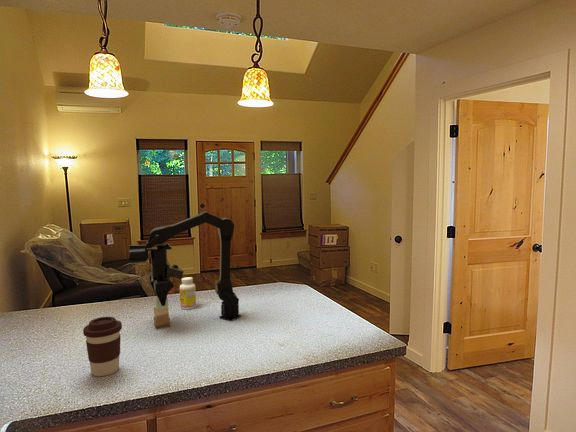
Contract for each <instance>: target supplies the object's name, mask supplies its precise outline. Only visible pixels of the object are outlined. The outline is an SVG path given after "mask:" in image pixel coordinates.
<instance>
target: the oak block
mask: <svg viewBox="0 0 576 432" xmlns="http://www.w3.org/2000/svg"><path fill="white" fill-rule="evenodd" d="M153 310H154V311H153V313H154V315H153V317H154V316H155V318H156V320H159V319H164V318H170V315H169V308H168V309H163V310H156V308H155V306H154V307H153Z"/></svg>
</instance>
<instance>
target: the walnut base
mask: <svg viewBox="0 0 576 432" xmlns="http://www.w3.org/2000/svg"><path fill="white" fill-rule="evenodd" d="M170 320H171V319H170V317H169V318H164V319H159V320H156V318H155V316H154V315H153V324H154V327H155V330H159V329H164V328H170V327H171V321H170Z"/></svg>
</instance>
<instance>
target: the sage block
mask: <svg viewBox="0 0 576 432" xmlns="http://www.w3.org/2000/svg"><path fill="white" fill-rule="evenodd" d="M154 307H155V308H156V310H163V309H169V302H168V297H167V298H166V303H165V306H162V305H161V303H160V301H159V299H158V297H156V296H155V297H154Z"/></svg>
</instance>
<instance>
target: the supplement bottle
mask: <svg viewBox="0 0 576 432" xmlns="http://www.w3.org/2000/svg"><path fill="white" fill-rule="evenodd" d="M196 296H197V293H196V284H195V283H194V279H193V277H192V276H191V277H190V276H189V277H187V276H186V277H182V279H181V284H180V285H179V307H180V309H182V310H192V309H195V308H196V306H197V297H196Z"/></svg>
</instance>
